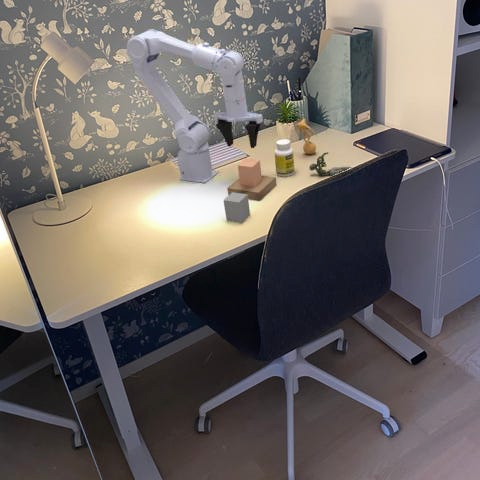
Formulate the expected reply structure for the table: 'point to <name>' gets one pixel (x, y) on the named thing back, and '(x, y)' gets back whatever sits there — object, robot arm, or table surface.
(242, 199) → the medium grey block
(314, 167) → the zombie figurine
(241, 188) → the walnut slab
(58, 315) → the table surface
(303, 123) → the figurine
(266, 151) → the table surface
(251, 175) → the terracotta block
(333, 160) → the table surface
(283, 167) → the supplement bottle
